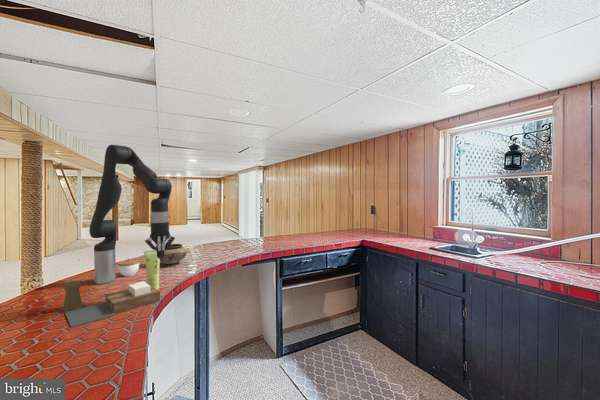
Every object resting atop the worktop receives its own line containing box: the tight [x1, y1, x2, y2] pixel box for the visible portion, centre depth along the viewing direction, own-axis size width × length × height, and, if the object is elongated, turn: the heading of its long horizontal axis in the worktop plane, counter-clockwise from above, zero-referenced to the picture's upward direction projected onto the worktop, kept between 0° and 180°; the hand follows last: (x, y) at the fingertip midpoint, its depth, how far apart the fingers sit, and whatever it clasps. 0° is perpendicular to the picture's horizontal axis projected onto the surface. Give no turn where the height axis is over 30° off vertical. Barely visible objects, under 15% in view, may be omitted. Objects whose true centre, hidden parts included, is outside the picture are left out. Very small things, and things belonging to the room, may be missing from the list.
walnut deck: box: [104, 286, 161, 315], centre depth 114 cm, size 14×17×4 cm
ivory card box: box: [127, 280, 150, 296], centre depth 116 cm, size 9×6×3 cm, turn 48°
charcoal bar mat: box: [64, 301, 116, 329], centre depth 103 cm, size 17×13×1 cm
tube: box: [143, 250, 161, 290], centre depth 130 cm, size 6×5×20 cm
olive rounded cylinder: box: [62, 280, 83, 312], centre depth 109 cm, size 6×6×11 cm
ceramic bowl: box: [152, 243, 192, 267], centre depth 175 cm, size 24×18×15 cm
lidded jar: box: [116, 258, 140, 277], centre depth 153 cm, size 11×11×9 cm
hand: (160, 258), depth 123 cm, fingers closed
